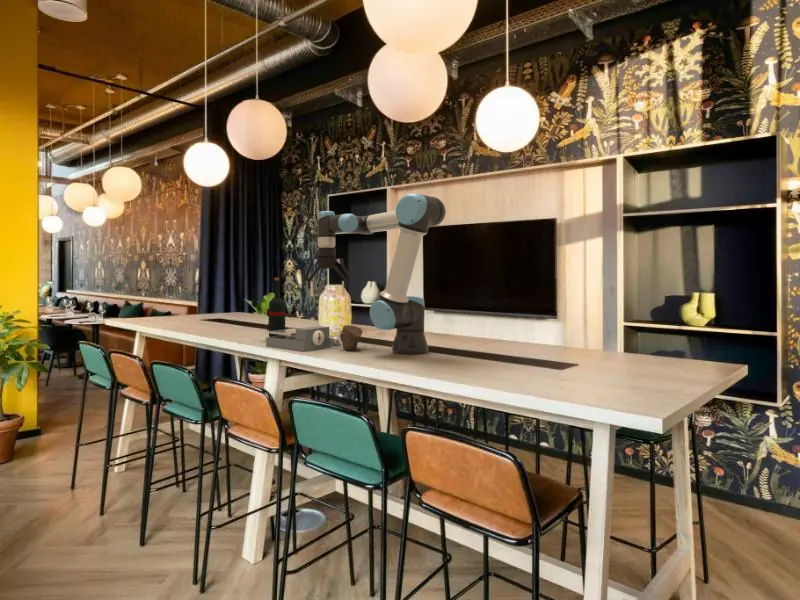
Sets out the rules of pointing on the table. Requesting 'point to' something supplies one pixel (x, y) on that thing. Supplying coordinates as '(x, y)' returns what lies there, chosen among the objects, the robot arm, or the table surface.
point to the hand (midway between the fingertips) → (327, 296)
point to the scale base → (302, 339)
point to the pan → (284, 332)
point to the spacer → (335, 341)
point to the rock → (350, 337)
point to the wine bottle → (276, 312)
